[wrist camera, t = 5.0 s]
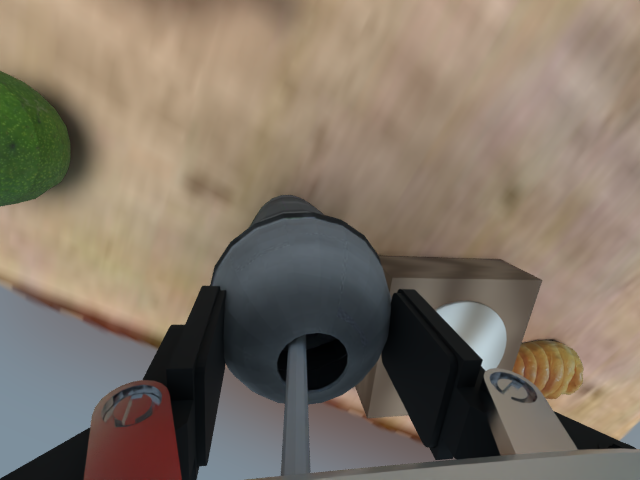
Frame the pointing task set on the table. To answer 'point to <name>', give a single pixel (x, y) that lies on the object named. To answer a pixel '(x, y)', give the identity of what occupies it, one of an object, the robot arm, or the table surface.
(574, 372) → the pastry
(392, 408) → the walnut stand
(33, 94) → the fruit
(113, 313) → the table surface
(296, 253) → the beverage cup
